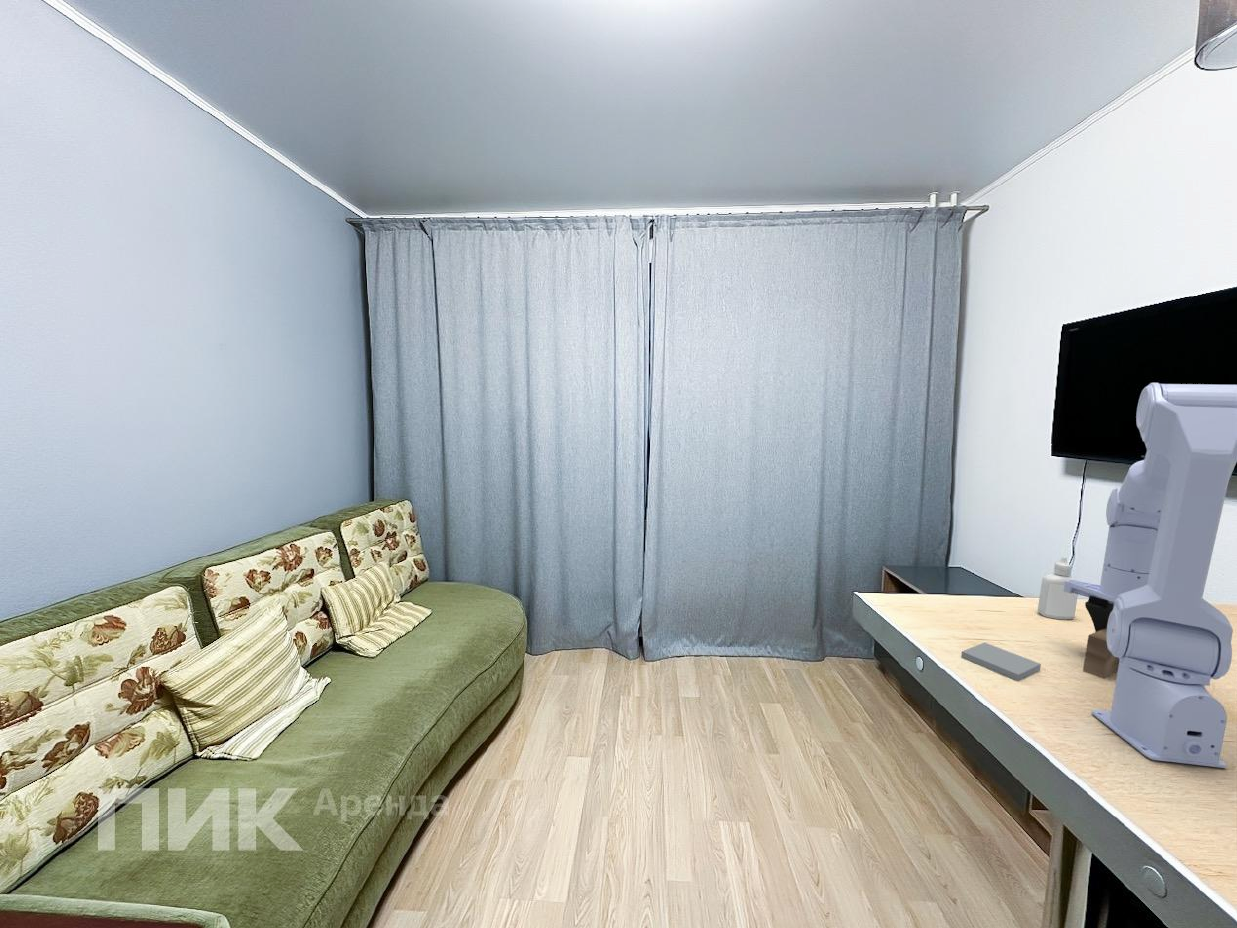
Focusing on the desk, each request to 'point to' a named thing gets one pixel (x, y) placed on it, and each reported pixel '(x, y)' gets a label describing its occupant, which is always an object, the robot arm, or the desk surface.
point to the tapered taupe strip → (1099, 656)
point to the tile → (1001, 661)
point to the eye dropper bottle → (1057, 593)
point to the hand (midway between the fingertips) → (1114, 649)
